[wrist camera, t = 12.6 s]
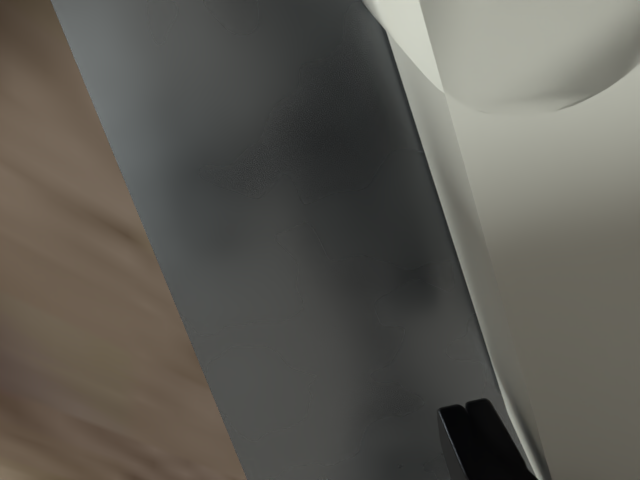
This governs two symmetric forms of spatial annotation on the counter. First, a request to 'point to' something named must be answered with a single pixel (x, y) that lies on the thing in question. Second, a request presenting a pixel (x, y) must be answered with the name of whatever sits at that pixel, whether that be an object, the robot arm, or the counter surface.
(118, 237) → the counter surface
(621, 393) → the off-white long bar
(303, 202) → the levelling base
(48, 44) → the counter surface
